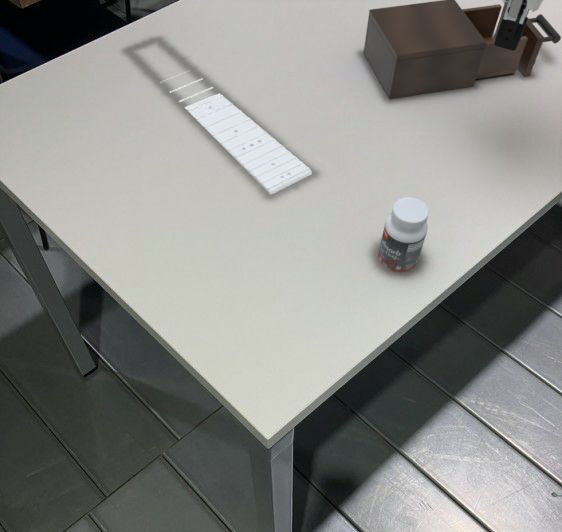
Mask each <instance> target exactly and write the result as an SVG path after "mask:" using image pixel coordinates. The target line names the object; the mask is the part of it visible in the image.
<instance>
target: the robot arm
mask: <svg viewBox="0 0 562 532" xmlns="http://www.w3.org/2000/svg"><path fill="white" fill-rule="evenodd" d="M508 1H509V2H508ZM502 2H503V5H504V4H506V3H507V2H508V5H507V8H506V12H505V14H504V16H503V18H502V21H501V24H500V27H499V30H498V33H497V36H496V39H495V38H494V40H495V42H494V44H495V46H498V47H501V48H505V49H509V50H512V51H514V50H516V48H517V46H518V44H519V42H520V39H521V36H522V33H523V31H524V28H525V25H526V22H527V20H528V19H529V17H528V15H529V13H530V11H531V12H532V13H534V12H537V11H538V10H539V9H540V7H541V6H542V3H543V2H544V0H502ZM526 16H527V17H526Z"/></svg>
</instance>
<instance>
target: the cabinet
mask: <svg viewBox="0 0 562 532" xmlns="http://www.w3.org/2000/svg"><path fill="white" fill-rule="evenodd" d="M462 9H463V8H462V7H461V6H460V5H459V3H458V2H457V0H435V1H434V0H433V1H427V2H418V3H410V4H403V5H395V6H387V7H379V8H370V9H369V11H368V18H367V25H366V32H365V40H364V46H363V55H364V57H365V59H366V61H367V62H368V65H369V66H370V68H371V69H372V71H373V73H374V75H375V76H376V79H377V80H378V82H379V84H380V85H381V87H382V89H383V91H384V92H385V94H386V96H387V98H388V100H393V99H400V98H406V97H413V96H420V95H427V94H432V93H439V92H445V91H453V90H459V89H465V88H473V87H474V86H475V82H476V76H477V73H478V70H479V66H480V63H481V60H482V57H483V54H484V50H485V48H486V44H487V42H486V41H485V40H484V38H483V37H482V36H481V34H480V33H479V32H478V30H477V29H476V28H475V26H474V25H473V24H472V22H471V21H470V20H469V18H468V17H467V16H466V14H465V13H464V12H463V10H462Z"/></svg>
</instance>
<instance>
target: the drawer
mask: <svg viewBox="0 0 562 532" xmlns="http://www.w3.org/2000/svg"><path fill="white" fill-rule="evenodd" d="M508 2H509V1H508ZM508 2H507V3H506V4H504V3H503V6H502V5H501V4H500V3H499V4H492V5H484V6H477V7H470V8H461V9H462V10H463V12H464V13H465V14H466V16H467V17H468V18H469V20H470V21H471V22H472V24H473V25H474V26H475V28H476V29H477V30H478V32H479V33H480V34H481V36H482V37H483V38H484V40H485V41H486V42H487V44H486V48H485V50H484V54H483V57H482V60H481V63H480V66H479V70H478V73H477V76H476V79H477V80H478V79H483V78H490V77H497V76H498V77H499V76H505V75H511V74H516V72H517V70H518V71H519V72H520V74H521V75H522V76H523V77H530V76H531V73H532V71H533V68H534V66H535V63H536V60H537V59H538V56H539V53H540V51H541V49H542V48H541V47H542V45H543V43H547V42H552V43H553V44H557V43H559V42H560V41H561V39H562V36H561V35H560V33H558V31H557V30H556V29H555V28H554V27H553V26H552V24H551V23H550V22H549V21H548V19H546V17H545V16H544V15H543V14H541V13H539V14H538V15H537V16H535V17H531V18H528V15H527V16H526V17H527V18H528V20H527V22H526V25H525V28H524V31H523V33H522V36H521V39H520V42H519V44H518V46H517V48H516V50H514V51H512V50H509V49H505V48H501V47H498V46H495V44H494V42H495V39H496V36H497V33H498V30H499V27H500V24H501V21H502V18H503V16H504V14H505V12H506V8H507V5H508ZM535 23H536V24H537V26H539V28H541V30H542V31H543V32H544V33H545V35H546V36H543V34H542V33H541V32H540V30H539V29H538V28H537V27H536V26H535V25H534V24H535ZM476 79H475V80H476Z"/></svg>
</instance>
